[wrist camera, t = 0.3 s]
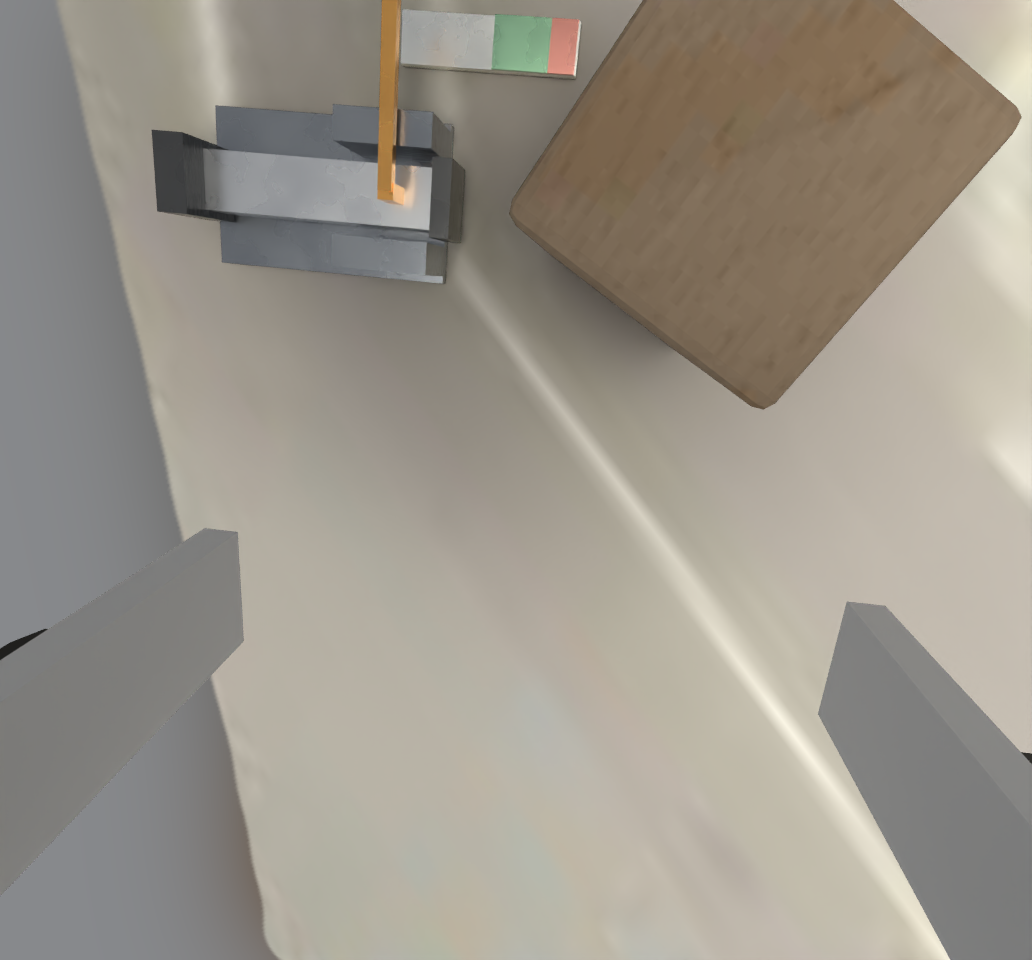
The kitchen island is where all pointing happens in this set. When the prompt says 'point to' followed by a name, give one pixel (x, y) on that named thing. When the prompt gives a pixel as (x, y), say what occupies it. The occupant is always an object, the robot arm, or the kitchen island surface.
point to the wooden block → (758, 173)
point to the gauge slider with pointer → (316, 175)
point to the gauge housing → (356, 135)
